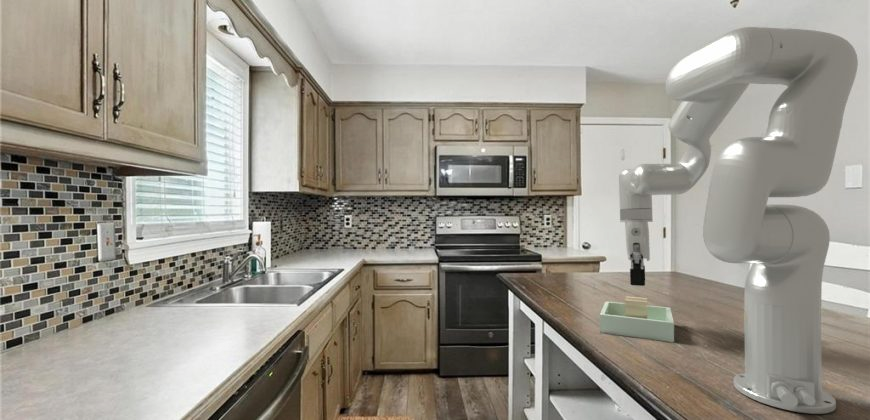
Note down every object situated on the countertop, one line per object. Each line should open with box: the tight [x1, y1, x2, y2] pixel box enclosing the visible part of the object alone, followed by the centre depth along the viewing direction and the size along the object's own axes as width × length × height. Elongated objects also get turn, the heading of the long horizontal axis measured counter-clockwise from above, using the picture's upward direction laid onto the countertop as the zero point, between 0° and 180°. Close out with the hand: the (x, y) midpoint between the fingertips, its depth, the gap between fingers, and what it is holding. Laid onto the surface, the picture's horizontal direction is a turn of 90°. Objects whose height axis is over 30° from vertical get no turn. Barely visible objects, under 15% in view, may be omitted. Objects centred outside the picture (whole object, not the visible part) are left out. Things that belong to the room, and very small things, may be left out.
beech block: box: [624, 295, 648, 319], centre depth 101 cm, size 5×5×7 cm
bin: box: [599, 301, 675, 343], centre depth 101 cm, size 16×16×4 cm
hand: (638, 282), depth 101 cm, fingers open, 9 cm apart
